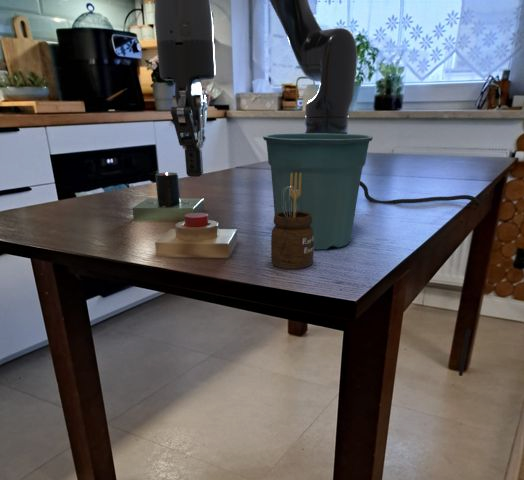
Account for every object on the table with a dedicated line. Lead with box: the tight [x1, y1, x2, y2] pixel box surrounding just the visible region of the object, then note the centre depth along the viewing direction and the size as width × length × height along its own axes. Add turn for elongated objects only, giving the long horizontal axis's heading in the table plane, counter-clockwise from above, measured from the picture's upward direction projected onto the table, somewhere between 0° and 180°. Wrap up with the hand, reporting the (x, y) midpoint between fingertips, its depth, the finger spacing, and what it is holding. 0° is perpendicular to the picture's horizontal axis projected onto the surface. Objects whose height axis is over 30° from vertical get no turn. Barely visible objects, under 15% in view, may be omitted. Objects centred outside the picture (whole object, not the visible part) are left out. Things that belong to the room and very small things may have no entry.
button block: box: [154, 219, 238, 259], centre depth 80 cm, size 11×9×4 cm
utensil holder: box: [270, 173, 315, 271], centre depth 71 cm, size 6×6×12 cm
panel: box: [131, 197, 205, 222], centre depth 104 cm, size 12×10×3 cm
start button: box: [184, 212, 209, 227], centre depth 79 cm, size 4×4×2 cm
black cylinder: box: [154, 171, 181, 205], centre depth 102 cm, size 4×4×6 cm
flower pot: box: [262, 132, 374, 250], centre depth 81 cm, size 16×16×16 cm
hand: (195, 175), depth 76 cm, fingers closed
